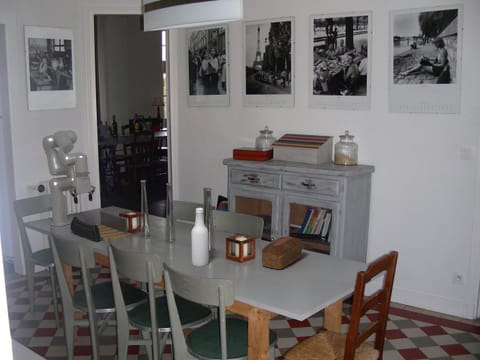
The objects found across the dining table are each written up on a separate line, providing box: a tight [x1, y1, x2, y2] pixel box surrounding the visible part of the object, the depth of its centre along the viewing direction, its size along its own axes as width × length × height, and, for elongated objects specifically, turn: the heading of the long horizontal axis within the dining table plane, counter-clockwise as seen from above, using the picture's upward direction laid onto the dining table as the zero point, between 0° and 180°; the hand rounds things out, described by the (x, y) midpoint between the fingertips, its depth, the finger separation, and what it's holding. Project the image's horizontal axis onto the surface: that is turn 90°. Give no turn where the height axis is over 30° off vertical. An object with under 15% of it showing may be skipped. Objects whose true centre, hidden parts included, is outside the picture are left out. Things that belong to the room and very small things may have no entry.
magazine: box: [69, 216, 102, 242], centre depth 336 cm, size 17×3×30 cm
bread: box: [261, 235, 304, 270], centre depth 290 cm, size 14×28×12 cm, turn 148°
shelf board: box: [95, 222, 131, 242], centre depth 346 cm, size 34×18×2 cm, turn 45°
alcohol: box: [190, 207, 210, 267], centre depth 286 cm, size 9×9×30 cm
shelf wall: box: [99, 210, 128, 233], centre depth 350 cm, size 30×1×9 cm, turn 45°
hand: (83, 202), depth 333 cm, fingers open, 9 cm apart
